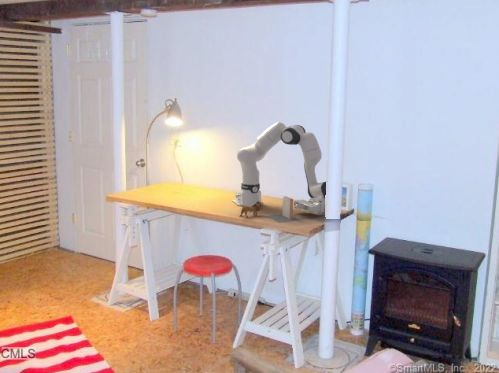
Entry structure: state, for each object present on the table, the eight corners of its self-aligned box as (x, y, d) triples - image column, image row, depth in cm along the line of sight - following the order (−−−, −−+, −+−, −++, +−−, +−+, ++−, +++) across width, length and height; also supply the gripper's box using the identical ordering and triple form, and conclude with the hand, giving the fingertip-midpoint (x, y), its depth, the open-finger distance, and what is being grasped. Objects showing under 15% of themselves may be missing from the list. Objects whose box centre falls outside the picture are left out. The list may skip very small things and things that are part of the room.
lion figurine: (259, 214, 336) (259, 200, 334) (263, 216, 331) (263, 201, 330) (237, 216, 330) (237, 202, 328) (241, 218, 325) (241, 203, 323)
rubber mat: (264, 216, 330) (264, 216, 330) (286, 214, 337) (286, 213, 337) (279, 223, 314) (279, 222, 314) (302, 220, 322) (302, 219, 322)
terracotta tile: (282, 216, 330) (283, 196, 328) (285, 215, 331) (286, 196, 329) (289, 219, 323) (290, 199, 321) (292, 218, 324) (293, 198, 322)
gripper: (305, 196, 344) (286, 198, 337) (324, 203, 326) (305, 205, 320) (304, 206, 345) (286, 208, 339) (324, 213, 327) (305, 215, 321)
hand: (295, 206), depth 329 cm, fingers closed
